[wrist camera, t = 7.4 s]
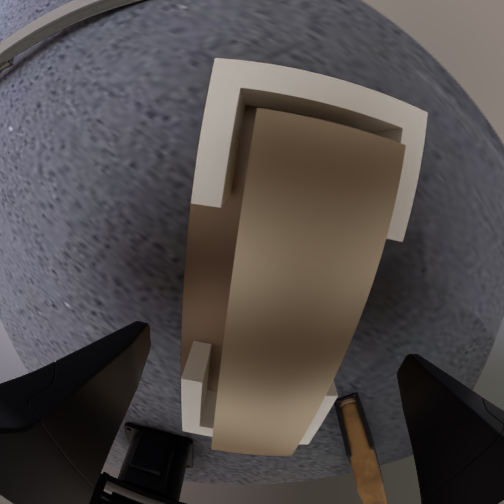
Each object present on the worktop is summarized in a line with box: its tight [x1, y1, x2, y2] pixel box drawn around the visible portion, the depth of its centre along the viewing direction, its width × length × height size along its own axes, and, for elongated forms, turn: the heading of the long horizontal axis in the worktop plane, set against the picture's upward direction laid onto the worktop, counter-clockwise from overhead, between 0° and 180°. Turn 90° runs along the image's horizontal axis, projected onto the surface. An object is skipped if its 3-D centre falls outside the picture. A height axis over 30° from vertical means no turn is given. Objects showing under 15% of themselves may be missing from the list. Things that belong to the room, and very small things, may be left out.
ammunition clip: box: [334, 393, 387, 504], centre depth 13 cm, size 11×2×12 cm, turn 25°
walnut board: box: [181, 73, 366, 392], centre depth 13 cm, size 19×9×1 cm, turn 171°
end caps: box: [181, 58, 428, 444], centre depth 12 cm, size 18×8×3 cm, turn 171°
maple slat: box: [211, 108, 406, 456], centre depth 11 cm, size 14×4×5 cm, turn 171°
